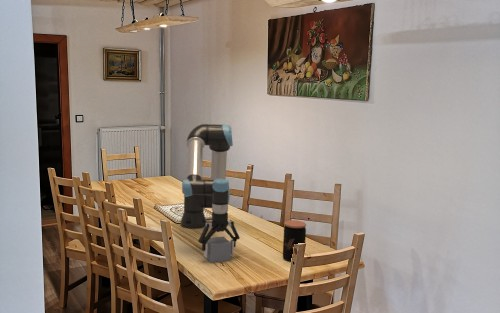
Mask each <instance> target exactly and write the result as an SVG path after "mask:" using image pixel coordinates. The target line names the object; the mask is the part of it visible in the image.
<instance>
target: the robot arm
mask: <svg viewBox="0 0 500 313" xmlns="http://www.w3.org/2000/svg"><path fill="white" fill-rule="evenodd" d="M232 132H233V131H232V127H231V125H229V124H213V123H211V124H208V123H204V124H202V123H201V124H199V125H197V126H195V127H194V128H193V129H192V130H191V131H190V132H189V133H188V136H187V139H186V147H187V149H188V150H187V164H186V165H187V169H186V179H182V183H181V185H182V186H181V192H182V194H183V197H184V199H183V214H182V217H181V220H180V226H181V227H183V228H187V229H200V228H203V230H202V232H201V235H200V236H199V238H198V240H197V241H198V243H199V244H201V245H202V246H201V249H202V251H203V257H204V258H205V259H206V258H207V244H206V243H207V242H208V240H209V239H210V238H213V237H212V236H214V234H216V232H217V233H219V232H224V231H225V232H226V234H227V235H228V236H229V237H230V240H229V241H230V242H231V256H232V255H234V254H235V248H236V244H237V240H240V236H239V233H238V231H237V229H236V227H235V222H234V221H233V220H231V219H230V220H229V219H228V218H229V212H228V211H229V202H230V196H231V190H230V183H229V180H227V179H226V178H227V162H228V161H227V160H228V159H227V158H228V157H227V156H228V151H230V149H231V147H232V146H234V145H233V144H234V143H233V133H232ZM205 146H208V148H209V150H210V151H211V162H210V179H203V156H204V155H203V151H204V150H203V149H204V148H205ZM205 209H211V210H212V212H211V222H207V219H206V216H205V213H204V212H205V211H204V210H205ZM228 226H230V228H231V231H232V232H233V234H232V232H231V231H230V230H229V229H228V228H227V227H228ZM210 228H211V229H210Z"/></svg>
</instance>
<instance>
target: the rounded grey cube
mask: <svg viewBox="0 0 500 313" xmlns="http://www.w3.org/2000/svg"><path fill="white" fill-rule="evenodd" d="M230 241H231V240H228V239H227V238H226V237H225V236H215V237H211V238H210V239H209V240H208V242H207V243H206V244H207V258H205V260H207V261H208V262H209V263H210V264H215V263H222V262H223V263H224V262H229V261H231V260H232V254H231V242H230Z"/></svg>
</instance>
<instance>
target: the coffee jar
mask: <svg viewBox="0 0 500 313" xmlns="http://www.w3.org/2000/svg"><path fill="white" fill-rule="evenodd" d="M283 225H284V226H283V240H282V241H283V242H282V243H283V244H282V258H283V260H285V261H286V262H289V263H292V262H291V258H292V254H293V247H294V244H298V243H305V244H306V238H307V237H306V233H307V228H306V227H307V222H305V221H302V220H295V219H291V220H285V221H284V222H283Z"/></svg>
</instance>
